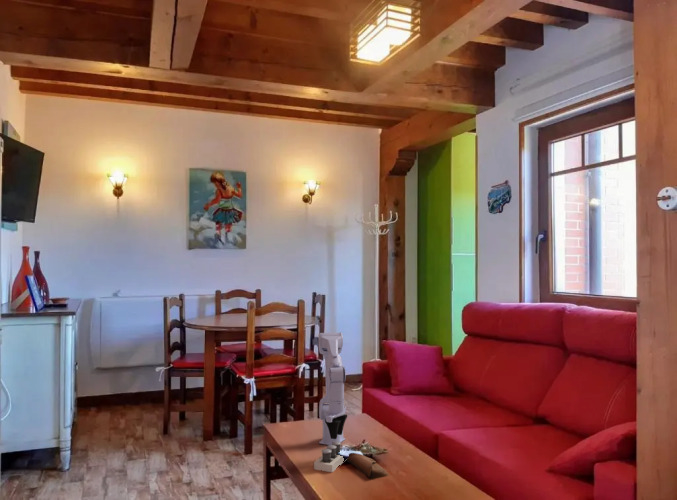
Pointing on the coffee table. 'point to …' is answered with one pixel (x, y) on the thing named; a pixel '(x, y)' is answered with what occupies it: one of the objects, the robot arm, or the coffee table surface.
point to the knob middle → (333, 448)
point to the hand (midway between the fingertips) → (336, 436)
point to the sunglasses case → (367, 465)
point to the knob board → (328, 464)
